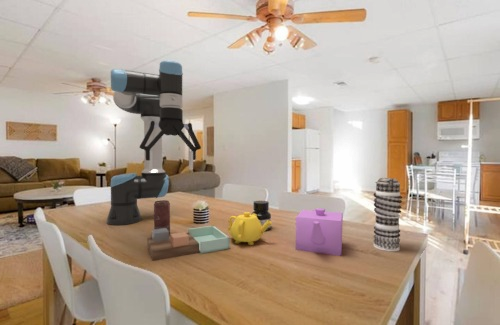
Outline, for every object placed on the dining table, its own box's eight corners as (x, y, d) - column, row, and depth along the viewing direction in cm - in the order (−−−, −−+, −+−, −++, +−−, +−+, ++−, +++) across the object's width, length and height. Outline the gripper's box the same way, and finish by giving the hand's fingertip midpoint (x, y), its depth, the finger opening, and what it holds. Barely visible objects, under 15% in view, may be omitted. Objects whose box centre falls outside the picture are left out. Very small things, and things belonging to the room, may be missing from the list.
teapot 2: (291, 257, 86) (291, 215, 85) (303, 235, 109) (304, 201, 109) (340, 264, 80) (341, 219, 80) (342, 239, 104) (343, 204, 103)
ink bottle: (259, 232, 112) (259, 204, 111) (246, 228, 118) (246, 201, 118) (275, 228, 118) (275, 202, 118) (261, 224, 125) (262, 199, 124)
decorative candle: (390, 253, 89) (392, 180, 88) (366, 245, 97) (368, 178, 96) (406, 249, 93) (408, 179, 92) (383, 241, 102) (384, 177, 101)
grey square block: (152, 237, 95) (151, 229, 95) (166, 235, 97) (166, 228, 97) (154, 242, 91) (153, 233, 91) (168, 239, 93) (168, 231, 93)
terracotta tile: (170, 242, 90) (170, 234, 90) (185, 240, 93) (185, 232, 93) (173, 247, 86) (173, 238, 86) (188, 244, 88) (188, 236, 88)
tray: (188, 238, 103) (188, 228, 103) (213, 235, 108) (213, 225, 108) (201, 253, 88) (201, 242, 88) (229, 248, 93) (229, 237, 93)
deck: (147, 246, 95) (147, 238, 95) (188, 240, 102) (188, 232, 102) (152, 260, 83) (152, 251, 82) (199, 252, 90) (199, 243, 89)
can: (165, 237, 104) (165, 203, 104) (151, 236, 106) (151, 202, 105) (173, 233, 110) (173, 200, 110) (159, 232, 112) (159, 199, 111)
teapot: (272, 244, 98) (273, 214, 98) (239, 249, 92) (239, 218, 92) (255, 233, 111) (255, 207, 111) (225, 237, 105) (225, 210, 105)
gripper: (132, 103, 81) (133, 171, 82) (209, 109, 93) (209, 169, 93) (130, 106, 88) (131, 170, 88) (203, 112, 99) (203, 168, 100)
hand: (171, 170), depth 91 cm, fingers open, 13 cm apart
